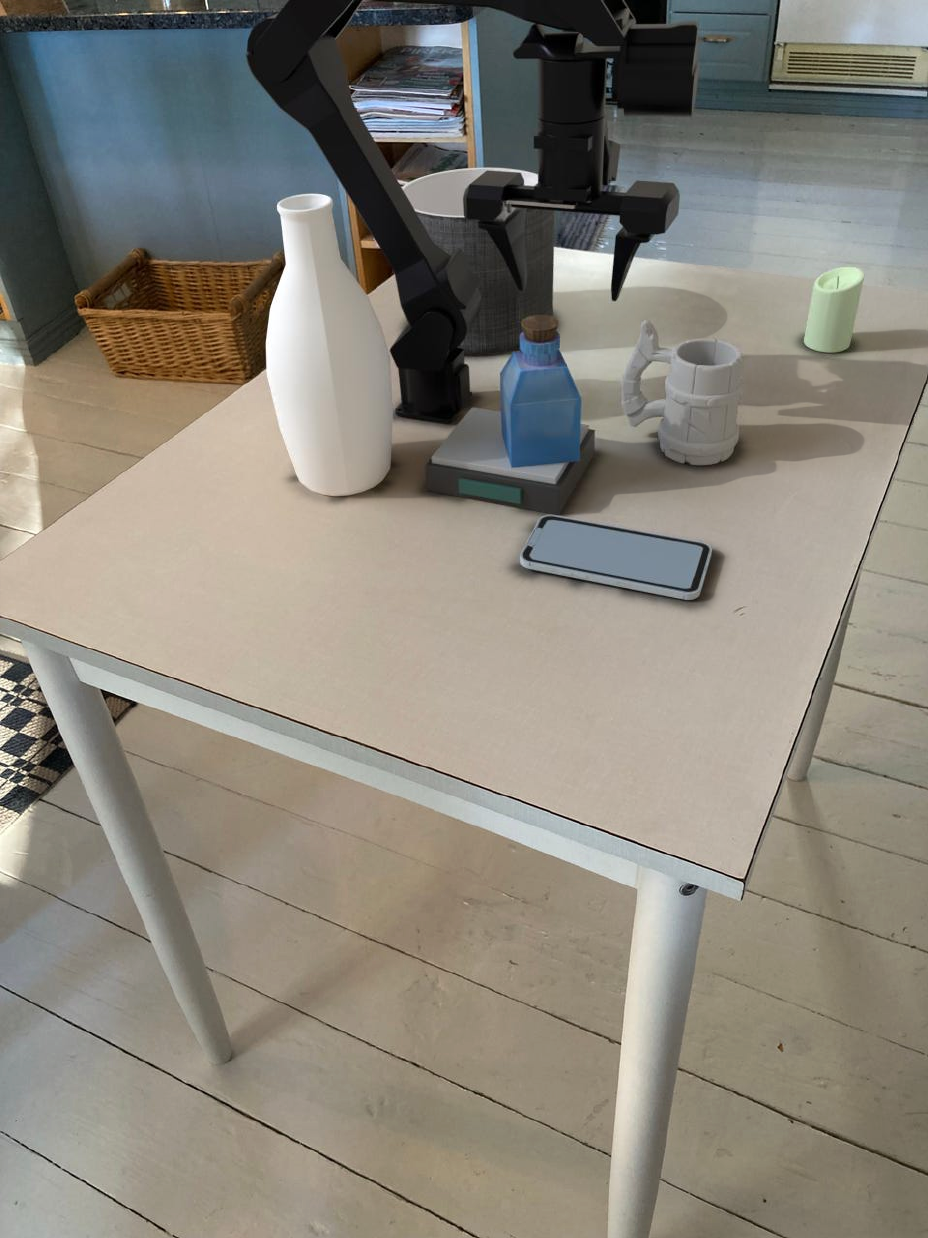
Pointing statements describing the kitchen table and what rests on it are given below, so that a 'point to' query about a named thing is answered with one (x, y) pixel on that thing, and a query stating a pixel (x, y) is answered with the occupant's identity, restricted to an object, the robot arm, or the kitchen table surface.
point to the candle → (833, 309)
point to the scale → (501, 467)
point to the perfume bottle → (539, 399)
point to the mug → (688, 396)
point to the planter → (489, 257)
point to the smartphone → (617, 556)
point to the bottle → (327, 359)
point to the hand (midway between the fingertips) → (568, 294)
